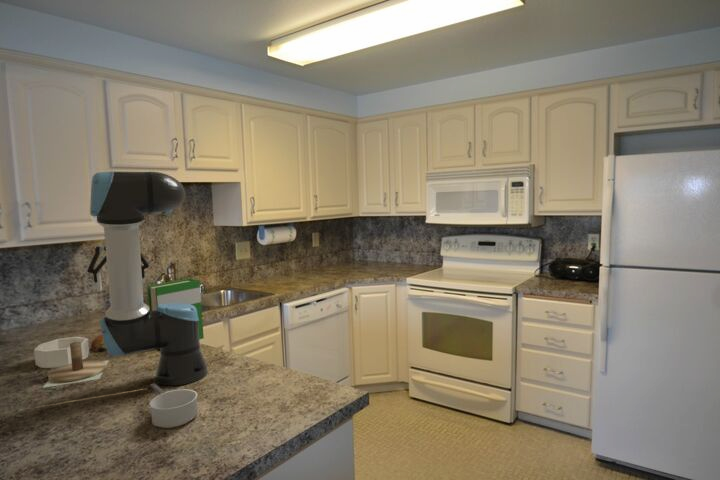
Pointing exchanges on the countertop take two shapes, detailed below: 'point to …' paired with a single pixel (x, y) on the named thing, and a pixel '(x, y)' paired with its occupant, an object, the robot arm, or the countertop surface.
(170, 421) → the saucepan
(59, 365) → the bowl
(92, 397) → the countertop surface
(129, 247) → the robot arm
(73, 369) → the lid
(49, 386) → the mat
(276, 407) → the countertop surface
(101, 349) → the bread roll
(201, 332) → the hardback book
